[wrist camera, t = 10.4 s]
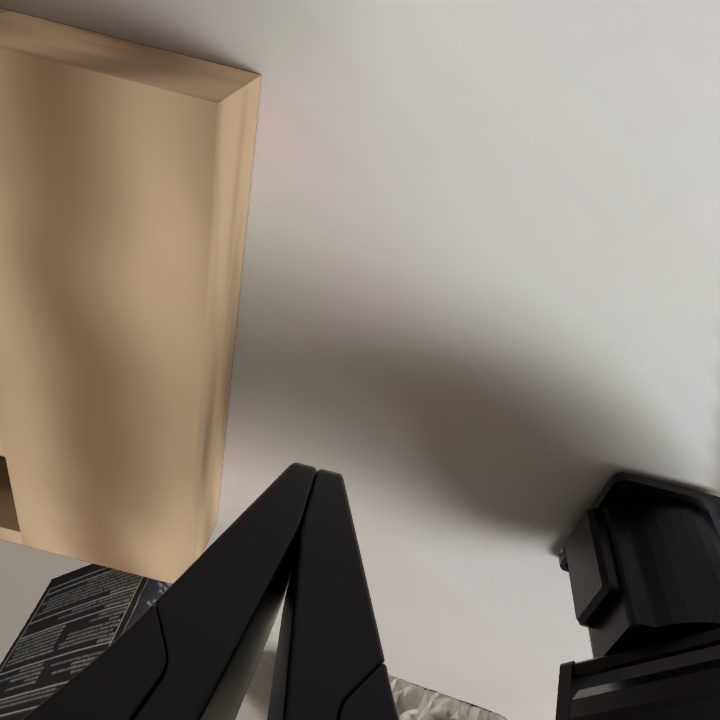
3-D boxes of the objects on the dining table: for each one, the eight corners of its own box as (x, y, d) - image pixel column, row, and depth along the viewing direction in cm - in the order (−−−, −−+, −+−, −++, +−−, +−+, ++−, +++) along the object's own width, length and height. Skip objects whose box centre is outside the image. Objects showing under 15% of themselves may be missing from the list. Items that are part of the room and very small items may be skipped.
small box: (124, 634, 40) (31, 823, 31) (49, 576, 37) (-75, 765, 29) (243, 599, 36) (172, 807, 27) (168, 530, 33) (63, 738, 24)
